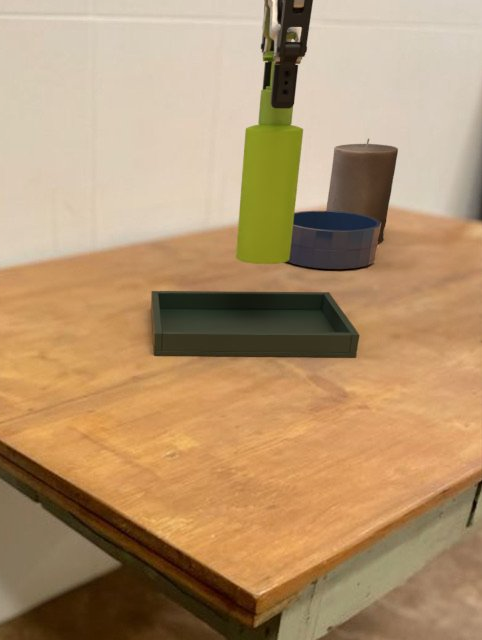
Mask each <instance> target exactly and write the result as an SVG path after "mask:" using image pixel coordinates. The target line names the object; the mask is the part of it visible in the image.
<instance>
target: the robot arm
mask: <svg viewBox="0 0 482 640" xmlns="http://www.w3.org/2000/svg"><path fill="white" fill-rule="evenodd" d="M263 2H264V6H263V19H262V25H261V30H262V36H261V44H260V50H261V53H262V57H263V56H264V54H265V53H266V52H268V51H274V54H273V60H274V64H279V65H274V70H273V81H272V91H271V102H270V103H271V106H272V107H273V108H291V107H293V108H294V105H295V100H296V90H297V81H298V73H299V65H300V64H301V63H302V60H303V58H305V57H306V53H307V51H308V46H307V44H308V39H309V31H310V24H311V18H312V10H313V3H314V0H263ZM271 66H272V61H264V67H263V68H264V69H263V78H262V89H261V90H263V89H266V86H270V78H271Z"/></svg>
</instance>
